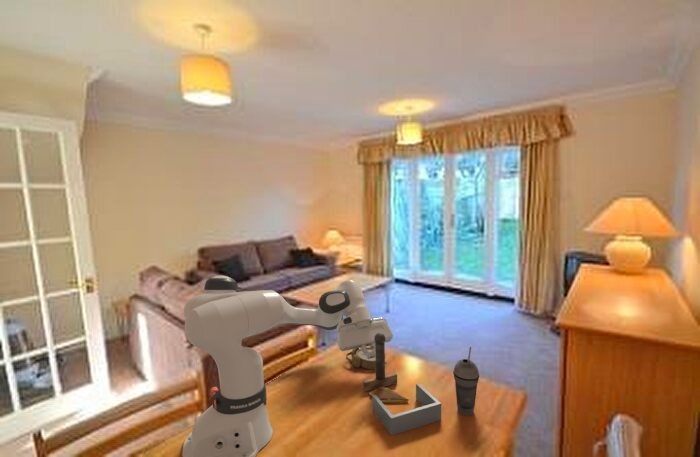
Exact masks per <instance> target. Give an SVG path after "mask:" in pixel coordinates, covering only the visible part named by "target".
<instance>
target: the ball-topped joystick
mask: <svg viewBox="0 0 700 457" xmlns="http://www.w3.org/2000/svg"><path fill="white" fill-rule="evenodd" d="M374 340H375V342H376V343H375V351H376V369H375V377H373V378H370V379H365V380H363V381H362V385H363V386H362V388H363V389H362V390H363V391H364V392H368V391H374V390H376V389H377V388H379V387H388V386H391V385H392V386H393V385H394V384H398V374H397V373H396V372H394V373H390V374H386V364H385V362H386V352H385V348H386V347H385V346H386V345H385V343H384V342H385V336H384V334H382V333H377V334H376V335H375V337H374Z"/></svg>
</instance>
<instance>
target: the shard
mask: <svg viewBox="0 0 700 457" xmlns="http://www.w3.org/2000/svg"><path fill="white" fill-rule="evenodd" d="M372 395H376V396H377V397H378V398H379V399H380V401H381V402H382V403H383V404H384V403H387V404H389V403H390V404H406V403H408V402H409V401H410V399H408V398H406V397H405V396H403V395H401V394H399V393H398V392H396V391H394V390H392V389H390V388H388V387H387V386H384V387H379V388H376V389H373V390H371V391H370V392H369V396H371V397H372Z"/></svg>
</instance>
